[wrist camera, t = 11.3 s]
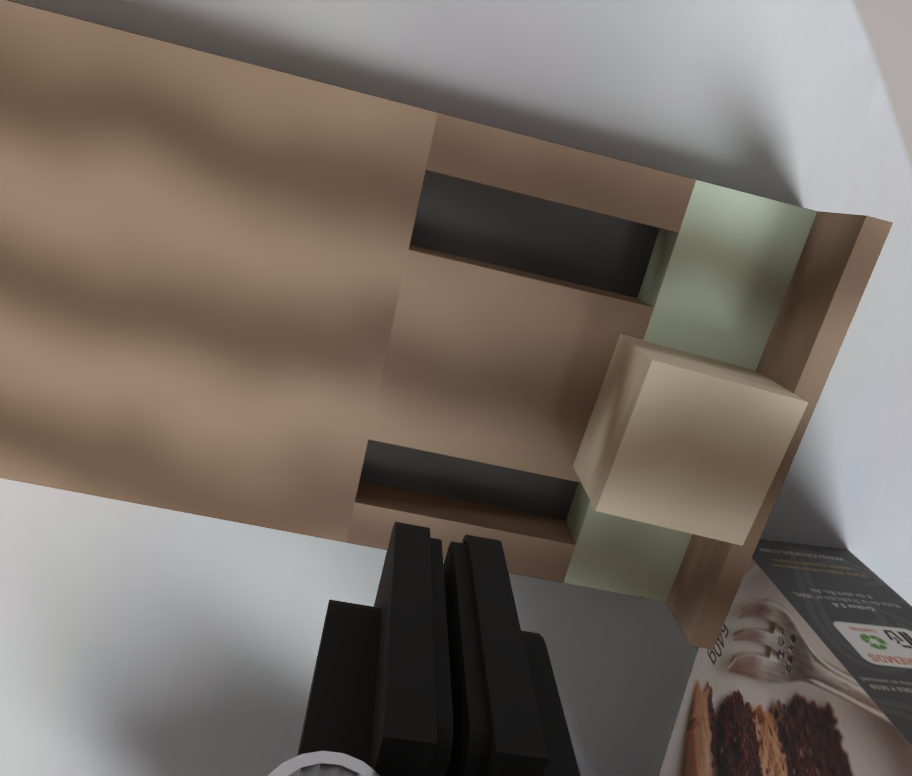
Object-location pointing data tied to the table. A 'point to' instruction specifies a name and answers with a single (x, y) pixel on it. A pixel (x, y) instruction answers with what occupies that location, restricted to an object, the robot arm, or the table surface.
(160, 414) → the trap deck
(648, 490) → the birch block
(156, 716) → the table surface
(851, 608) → the cake mix box
